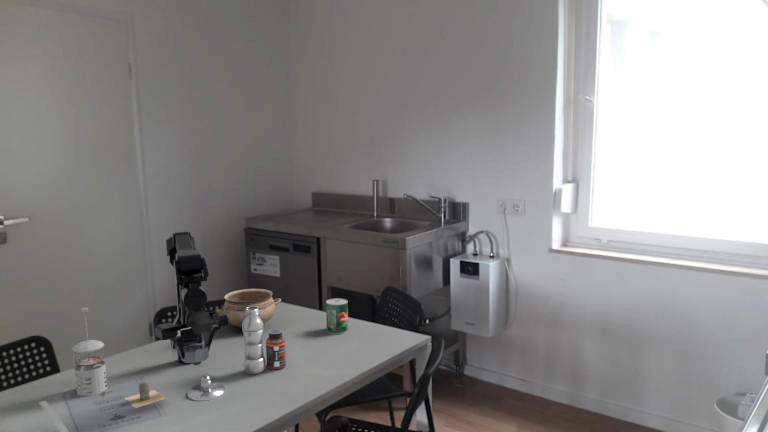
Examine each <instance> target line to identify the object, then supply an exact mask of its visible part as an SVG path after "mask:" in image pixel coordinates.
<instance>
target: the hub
mask: <svg viewBox="0 0 768 432" xmlns="http://www.w3.org/2000/svg"><path fill="white" fill-rule="evenodd" d="M225 393H226V386H225V385H224V384H221V383H217V382H212V379H211V377H210V375H206V374H205V375H203V376H202V377H201V379H200V384H198V385H194V386H192V387H191V388H190V389H189V390H188V391H187V397H188V398H189V399H190V400H193V401H198V402H199V401H201V402H202V401H209V400H214V399H218V398H219V397H221V396H222V395H224V394H225Z"/></svg>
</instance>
